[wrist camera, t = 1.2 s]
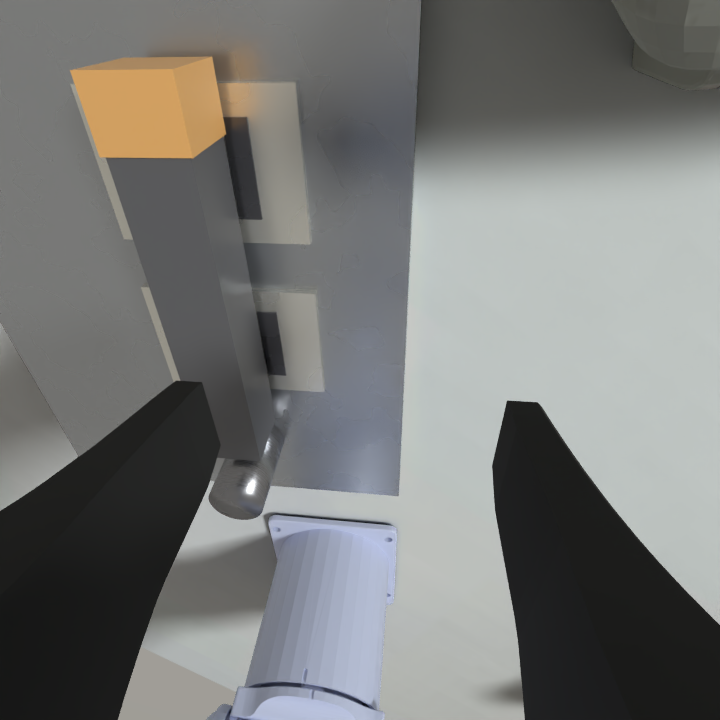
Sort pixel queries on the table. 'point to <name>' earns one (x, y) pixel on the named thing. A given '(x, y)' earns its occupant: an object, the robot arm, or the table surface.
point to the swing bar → (185, 229)
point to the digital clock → (675, 40)
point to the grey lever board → (256, 217)
